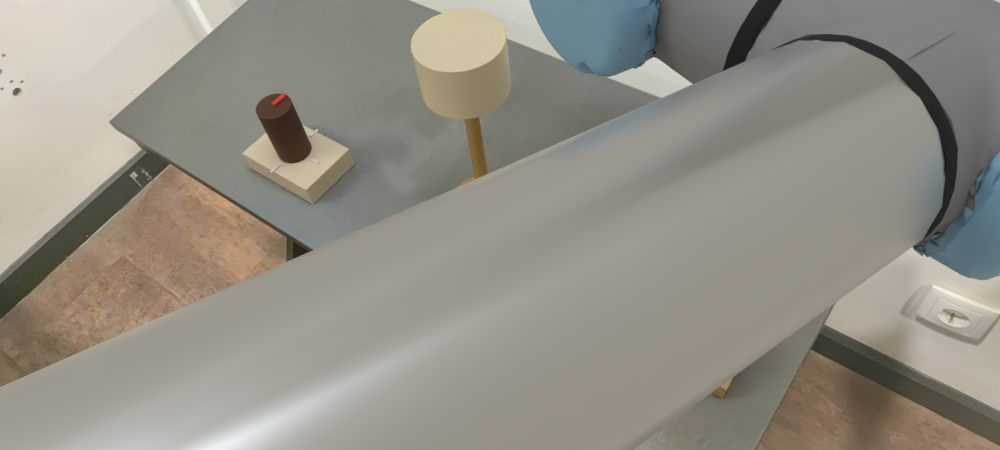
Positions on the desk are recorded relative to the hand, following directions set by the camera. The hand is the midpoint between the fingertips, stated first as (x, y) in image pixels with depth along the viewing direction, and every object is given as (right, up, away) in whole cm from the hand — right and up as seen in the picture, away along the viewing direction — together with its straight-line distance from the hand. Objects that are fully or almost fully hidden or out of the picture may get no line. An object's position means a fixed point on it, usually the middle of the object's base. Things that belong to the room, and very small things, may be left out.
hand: (714, 238), depth 58 cm
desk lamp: (-19, +3, +27) cm, 34 cm away
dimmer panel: (-44, +9, +35) cm, 57 cm away
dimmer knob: (-44, +11, +32) cm, 56 cm away
